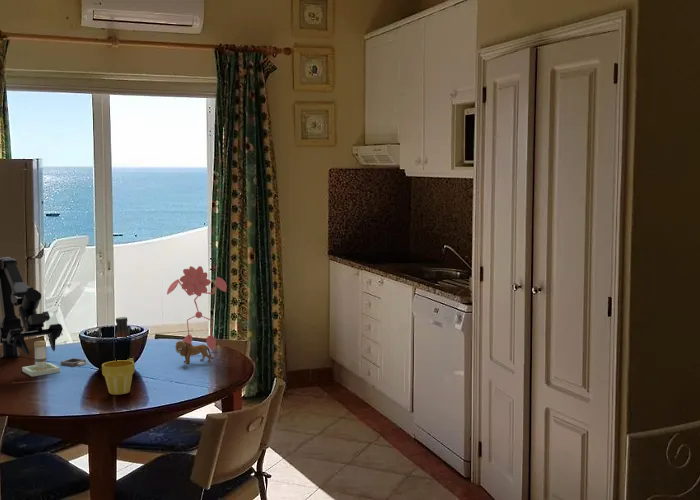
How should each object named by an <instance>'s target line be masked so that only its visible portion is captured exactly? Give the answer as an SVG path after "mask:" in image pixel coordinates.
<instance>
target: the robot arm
mask: <svg viewBox="0 0 700 500" xmlns="http://www.w3.org/2000/svg"><path fill="white" fill-rule="evenodd" d="M41 300H42V293H41V292H40V291H38V290H37V289H34V287H31V286H29V285H28V284H26V283H25V282H24V280H23V277H22V275H21V271H19V267H18V262H17V259H15V258H12V257H10V256H6V257H0V306H1V313H2V314H1V315H2V318H1V319H0V344H1V346H2V347H1V348H2V353H1V356H0V358H1V359H9V358H19V356H20V352H19V349H20V350H21V351H22V352H23V353H25V355H26V356H30V351H29V347H28V346H27V343H26V341H25V338H29V337H31V338H32V337H39V336H48V342H49V344H50V347H51V350H52V351H53V352H55V350H56V340H57V339H58V338H60V337H61V334H62V332H63V325H62V324H61V323H54V324H53V323H52V324H49V326H48V328H44V327H45V324H44V323H46V322H47V321H49V320H50V319H51V318H50V317H51V316H50V314H49V311H48V310H47V311H42V313H41V312H40V313H37V311H36V310H37V309H38V308H39V305H40V302H41ZM18 306H19V307H18ZM15 307H18V316H19V317H17V315H16V312H15ZM43 328H44V329H43Z"/></svg>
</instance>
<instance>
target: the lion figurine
mask: <svg viewBox="0 0 700 500" xmlns="http://www.w3.org/2000/svg"><path fill="white" fill-rule="evenodd" d="M210 350H211V349H210V348H209V347H208V345H207V344H198V345H193V344H192V345H191V344H189V343H187V342H185V341H183V339H182V340H178V341H176V342H175V351H176V352H177V354H179V355H180V356H182V357H184V358H185V360H184V361H183V363H185V364H186V365H190V363H191V357H192V356H198V355H199V354H200V355H201V359H199V362H203V361H204V359H206V358H207V363H211V362H212V360H215V358H214V357H212V353H211V351H210Z"/></svg>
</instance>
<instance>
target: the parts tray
mask: <svg viewBox="0 0 700 500" xmlns="http://www.w3.org/2000/svg"><path fill="white" fill-rule="evenodd" d="M46 366H47V369H45V370H39V371H35V364H33V365H28V366H22V367H21V369H22V372H23V373H24V374H26V375H28V376H29V377H37V376H43V375H49V374H57V373H60V372H61V369H60V368H61V367H59V366H58V365H55V364H53V363H51V362H46Z"/></svg>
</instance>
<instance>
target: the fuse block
mask: <svg viewBox="0 0 700 500" xmlns="http://www.w3.org/2000/svg"><path fill="white" fill-rule="evenodd" d="M88 364H89V362H87V361H86V359H84V358H75V357H72V358H68V359H65V360H61V361H60V363H58V364H57V366H64V367H65V366H66V367H71V368H72V367H73V368H77V367H80V366H83V365H88Z"/></svg>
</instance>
